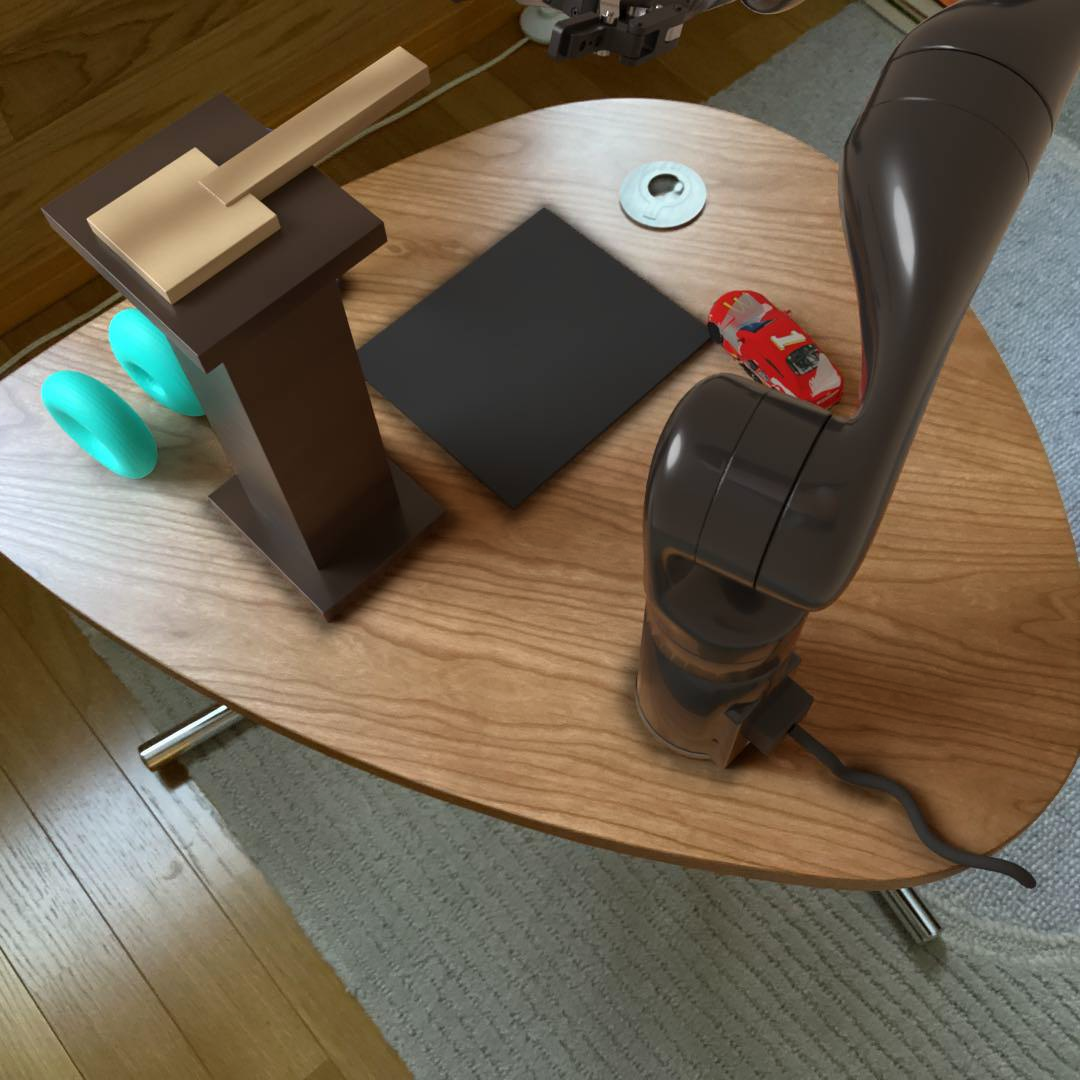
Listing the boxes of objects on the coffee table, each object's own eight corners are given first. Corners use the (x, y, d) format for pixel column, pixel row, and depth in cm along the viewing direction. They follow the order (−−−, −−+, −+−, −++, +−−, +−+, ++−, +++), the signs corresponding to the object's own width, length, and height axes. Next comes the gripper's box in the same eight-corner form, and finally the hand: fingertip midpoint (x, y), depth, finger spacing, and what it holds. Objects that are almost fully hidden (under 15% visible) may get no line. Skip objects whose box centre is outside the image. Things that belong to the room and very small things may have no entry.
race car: (692, 322, 96) (699, 289, 92) (744, 294, 97) (753, 261, 94) (795, 434, 91) (806, 405, 87) (848, 403, 92) (861, 373, 89)
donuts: (66, 443, 93) (11, 369, 84) (154, 359, 97) (110, 279, 88) (155, 505, 90) (107, 434, 81) (242, 416, 94) (206, 339, 85)
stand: (448, 520, 88) (383, 221, 60) (327, 623, 85) (197, 356, 56) (331, 413, 93) (220, 91, 65) (212, 506, 90) (39, 207, 61)
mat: (715, 336, 96) (715, 332, 95) (513, 511, 89) (513, 508, 88) (544, 210, 103) (544, 206, 102) (345, 363, 96) (344, 359, 95)
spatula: (458, 103, 64) (456, 86, 63) (172, 305, 58) (164, 289, 57) (376, 44, 66) (372, 26, 65) (93, 232, 61) (84, 215, 59)
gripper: (586, -127, 80) (425, -99, 70) (754, -43, 76) (607, -1, 65) (562, -16, 86) (409, 25, 75) (718, 68, 81) (577, 124, 71)
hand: (501, 13), depth 70 cm, fingers open, 8 cm apart
